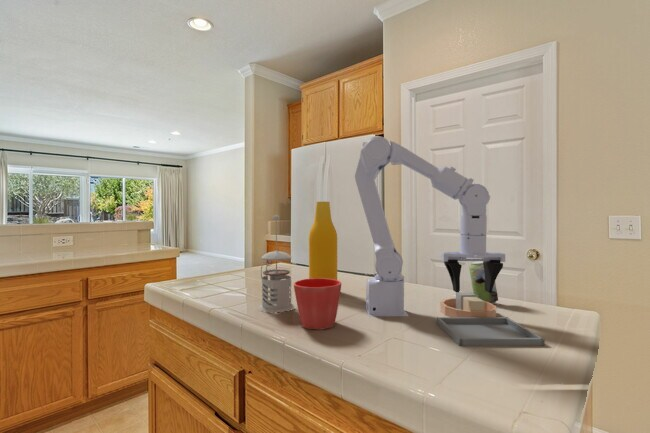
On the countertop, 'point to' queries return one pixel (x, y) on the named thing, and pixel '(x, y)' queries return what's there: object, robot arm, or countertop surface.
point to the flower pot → (317, 302)
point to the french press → (276, 283)
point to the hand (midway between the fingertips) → (472, 291)
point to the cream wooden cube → (473, 304)
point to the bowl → (450, 310)
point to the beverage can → (481, 283)
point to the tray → (488, 332)
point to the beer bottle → (323, 244)
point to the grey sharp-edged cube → (460, 298)
